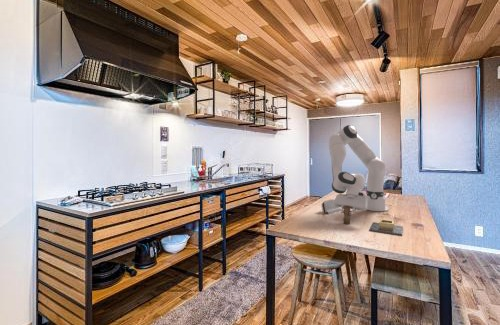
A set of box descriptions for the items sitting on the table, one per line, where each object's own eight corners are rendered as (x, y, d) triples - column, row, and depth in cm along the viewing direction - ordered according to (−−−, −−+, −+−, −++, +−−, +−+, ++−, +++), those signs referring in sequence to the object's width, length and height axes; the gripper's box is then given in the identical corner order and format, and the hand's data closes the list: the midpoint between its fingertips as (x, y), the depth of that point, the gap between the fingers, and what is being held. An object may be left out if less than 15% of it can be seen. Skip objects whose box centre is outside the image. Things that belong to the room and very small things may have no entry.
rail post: (344, 222, 164) (344, 205, 163) (350, 223, 162) (350, 205, 161) (343, 223, 161) (343, 206, 160) (349, 224, 159) (349, 206, 158)
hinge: (328, 214, 184) (324, 200, 186) (323, 215, 188) (319, 201, 190) (342, 210, 194) (338, 197, 196) (337, 211, 198) (333, 198, 200)
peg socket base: (373, 223, 161) (373, 216, 160) (403, 227, 152) (403, 220, 152) (369, 230, 147) (369, 222, 147) (402, 235, 139) (402, 227, 138)
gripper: (336, 190, 173) (329, 207, 166) (368, 194, 159) (361, 213, 152) (338, 196, 176) (332, 213, 169) (370, 200, 162) (364, 219, 155)
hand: (346, 213), depth 161 cm, fingers closed on rail post, 4 cm apart
